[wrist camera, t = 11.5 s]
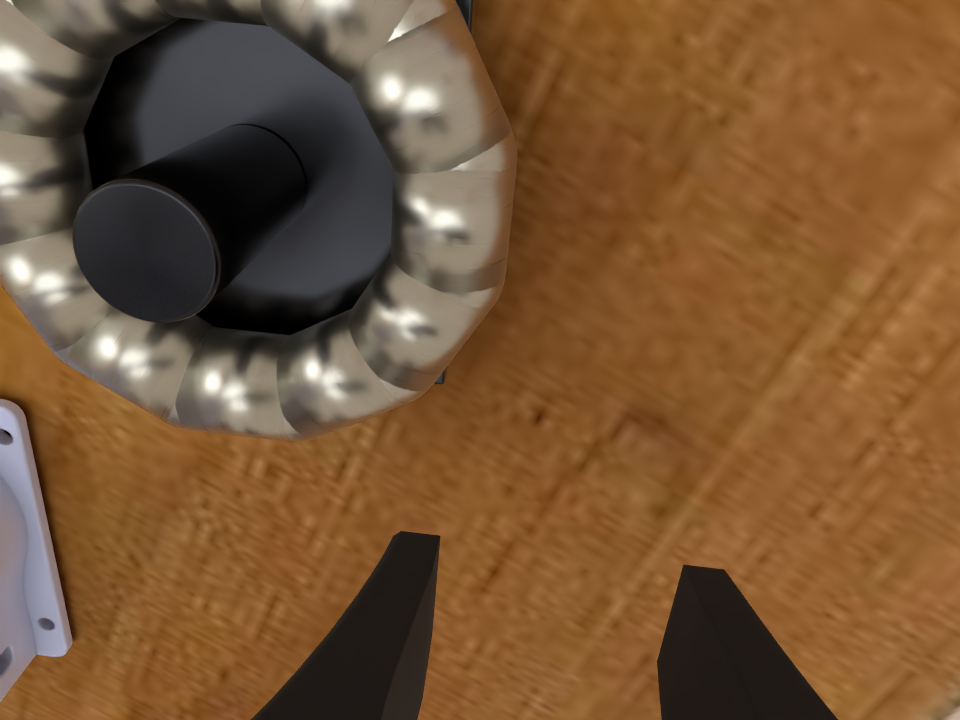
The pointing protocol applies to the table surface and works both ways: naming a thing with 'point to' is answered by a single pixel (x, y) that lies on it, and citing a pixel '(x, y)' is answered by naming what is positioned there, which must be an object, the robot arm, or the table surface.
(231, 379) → the segmented metal ring
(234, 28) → the tape post
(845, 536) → the table surface
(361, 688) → the robot arm
